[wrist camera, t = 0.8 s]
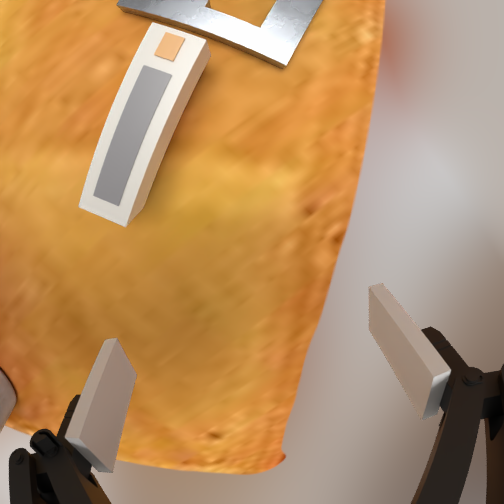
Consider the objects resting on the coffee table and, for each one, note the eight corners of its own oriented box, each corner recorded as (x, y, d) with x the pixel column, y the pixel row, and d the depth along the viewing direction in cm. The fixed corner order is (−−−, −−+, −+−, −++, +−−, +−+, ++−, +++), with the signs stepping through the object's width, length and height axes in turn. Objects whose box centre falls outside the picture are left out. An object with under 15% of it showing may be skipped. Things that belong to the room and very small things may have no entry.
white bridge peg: (116, 183, 33) (76, 207, 24) (173, 48, 28) (151, 21, 18) (152, 198, 34) (124, 228, 25) (213, 63, 29) (206, 39, 19)
